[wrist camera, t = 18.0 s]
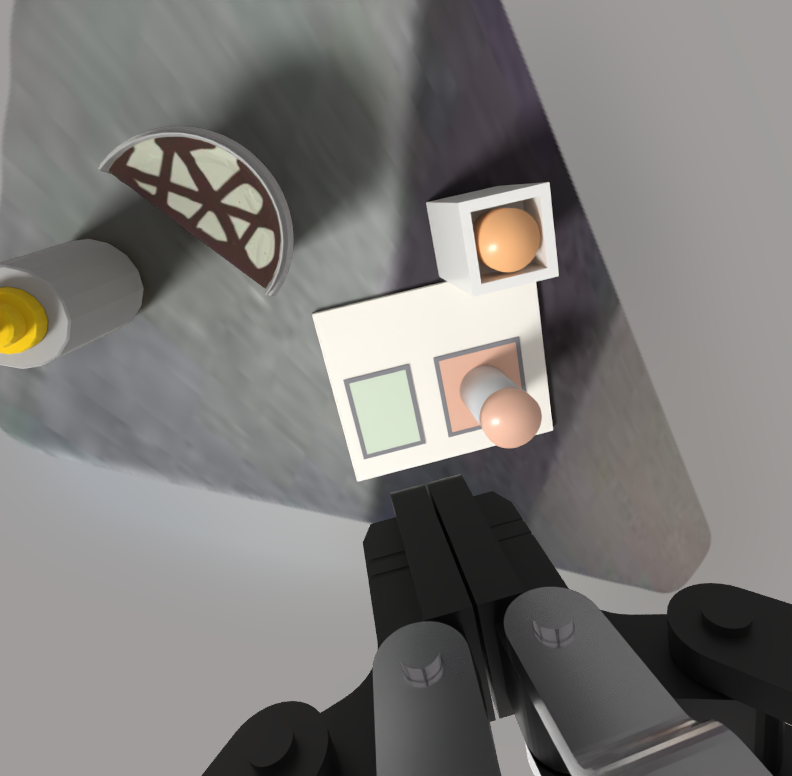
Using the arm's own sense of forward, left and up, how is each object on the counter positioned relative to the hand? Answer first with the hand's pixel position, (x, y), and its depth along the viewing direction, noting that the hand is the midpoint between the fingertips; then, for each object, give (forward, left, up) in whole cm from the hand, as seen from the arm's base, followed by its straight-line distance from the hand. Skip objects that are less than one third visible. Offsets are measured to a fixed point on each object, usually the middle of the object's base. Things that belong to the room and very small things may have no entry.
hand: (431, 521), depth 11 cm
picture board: (+10, +7, -35) cm, 37 cm away
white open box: (-2, +11, -35) cm, 37 cm away
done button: (-2, +11, -27) cm, 30 cm away
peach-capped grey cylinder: (+12, +10, -34) cm, 38 cm away
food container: (-8, -6, -35) cm, 37 cm away
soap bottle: (-4, -18, -35) cm, 40 cm away
